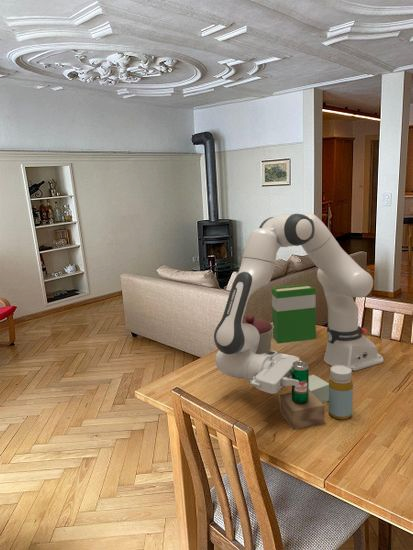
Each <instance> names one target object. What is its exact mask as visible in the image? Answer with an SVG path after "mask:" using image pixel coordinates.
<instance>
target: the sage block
mask: <svg viewBox="0 0 413 550" xmlns="http://www.w3.org/2000/svg"><path fill="white" fill-rule="evenodd" d="M309 390H310V391H311V392H312V393H313V394H314V395H315V396H316V397H317V398H318V399H319V400H320V401H321V402H322V403H323V404H324V403H327V402H329V382H327V381H325V379H323V378H320V377H318V376H316V375H315V374H311V375H309Z"/></svg>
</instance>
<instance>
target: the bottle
mask: <svg viewBox="0 0 413 550" xmlns="http://www.w3.org/2000/svg"><path fill="white" fill-rule="evenodd" d="M329 369H330V371H329V372H330V373H329V374H330V375H329V381H328V383H329V401H328V413H329V415H330V416H331V417H333V418H335V419H337V420H348V419H350V418H351V417H352V416H353V403H354V402H353V401H354V400H353V399H354V384H353V383H354V382H353V381H352V380H353V372H352V371H353V370H351V368H349V367H347V366H344V365H335V366H331V367H330V368H329Z"/></svg>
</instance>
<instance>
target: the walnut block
mask: <svg viewBox="0 0 413 550" xmlns="http://www.w3.org/2000/svg"><path fill="white" fill-rule="evenodd" d="M279 412H280V413H281V415H282V416H283V417H284V419H285V420H286V422H287V423H288V424H289V426H290V427H291V428H292V429H293V430H299V429H302V428H308V427H313V426H318V425H323V424H325V404H324V403H322V402H321V401H320V400H319V399H318V398H317V397H316V396H315V395H314V394H313V393H312V392H311V391H310V390H309V400H308V401H307V402H306V403H304V404H299V403H296V402H294V401H293V400H292V391H291V392H287V393H286V392H285V393H281V394H279Z"/></svg>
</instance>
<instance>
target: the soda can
mask: <svg viewBox="0 0 413 550" xmlns="http://www.w3.org/2000/svg"><path fill="white" fill-rule="evenodd" d="M291 372H292V377H291V379H294V378H296V379H300V385H299V386H291V392H292V400H293V401H294V402H296V403H299V404H304V403H306V402H307V401H308V400H309V376H310V367H309V365H308V363H307V362H306V361H303V360H300V361H295V362H293V365H292V367H291Z"/></svg>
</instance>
